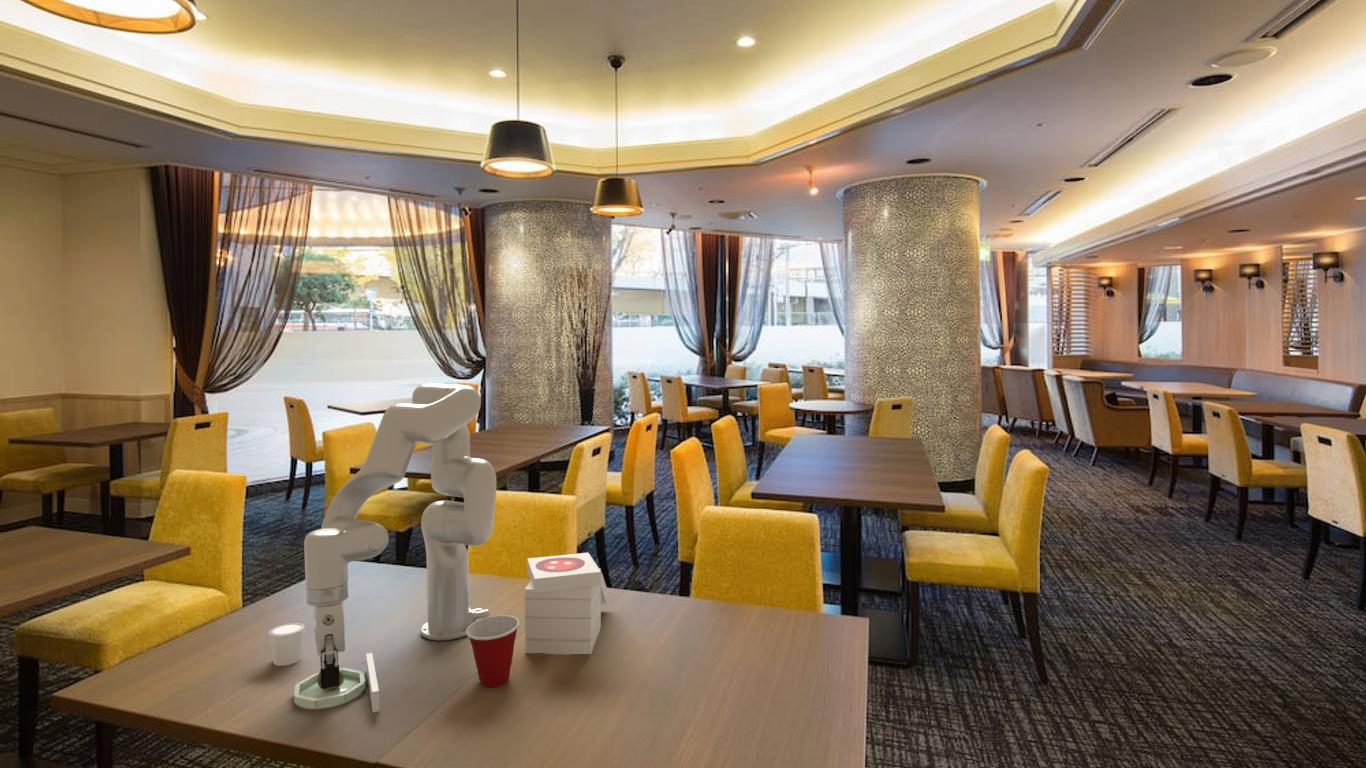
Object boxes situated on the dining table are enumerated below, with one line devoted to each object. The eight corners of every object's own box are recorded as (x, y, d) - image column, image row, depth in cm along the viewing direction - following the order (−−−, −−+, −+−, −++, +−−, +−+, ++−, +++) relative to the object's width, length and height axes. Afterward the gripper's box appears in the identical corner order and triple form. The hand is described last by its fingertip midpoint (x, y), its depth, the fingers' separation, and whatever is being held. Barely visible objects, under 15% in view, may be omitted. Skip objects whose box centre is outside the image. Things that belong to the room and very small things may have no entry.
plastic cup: (464, 673, 148) (463, 618, 147) (516, 664, 152) (515, 610, 151) (468, 698, 138) (467, 639, 137) (524, 688, 142) (523, 630, 141)
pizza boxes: (615, 607, 185) (615, 540, 183) (597, 659, 155) (597, 579, 153) (543, 605, 185) (542, 538, 184) (512, 657, 155) (511, 578, 154)
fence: (372, 670, 149) (372, 652, 148) (379, 711, 133) (378, 690, 133) (366, 672, 148) (365, 653, 148) (372, 712, 132) (371, 692, 132)
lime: (318, 686, 141) (317, 662, 140) (345, 682, 143) (344, 658, 142) (316, 697, 137) (315, 672, 136) (343, 692, 138) (342, 668, 138)
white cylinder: (289, 668, 150) (288, 636, 149) (262, 665, 151) (261, 633, 150) (312, 654, 156) (311, 623, 156) (286, 651, 158) (285, 621, 157)
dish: (363, 671, 148) (363, 663, 148) (367, 699, 137) (367, 690, 137) (294, 685, 142) (294, 676, 142) (292, 715, 131) (292, 706, 131)
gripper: (350, 603, 132) (352, 691, 134) (346, 575, 148) (348, 654, 149) (305, 610, 129) (308, 700, 130) (306, 581, 144) (308, 662, 145)
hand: (329, 675), depth 139 cm, fingers open, 9 cm apart
